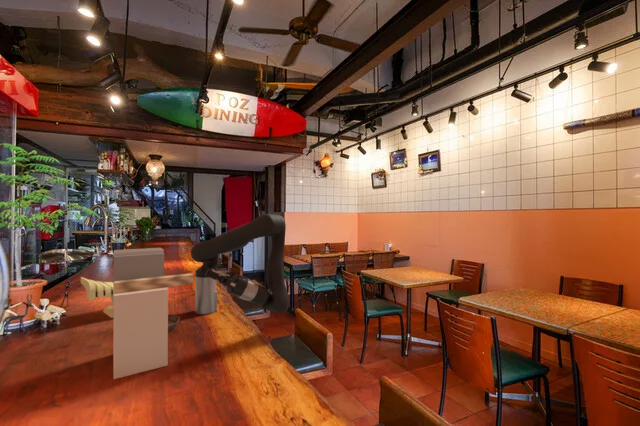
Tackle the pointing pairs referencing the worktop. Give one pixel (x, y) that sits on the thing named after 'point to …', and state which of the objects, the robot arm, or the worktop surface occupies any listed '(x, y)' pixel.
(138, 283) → the maple bar
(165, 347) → the stepped stand
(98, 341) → the worktop surface
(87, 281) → the slatted curved stool
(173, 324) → the plant saucer
